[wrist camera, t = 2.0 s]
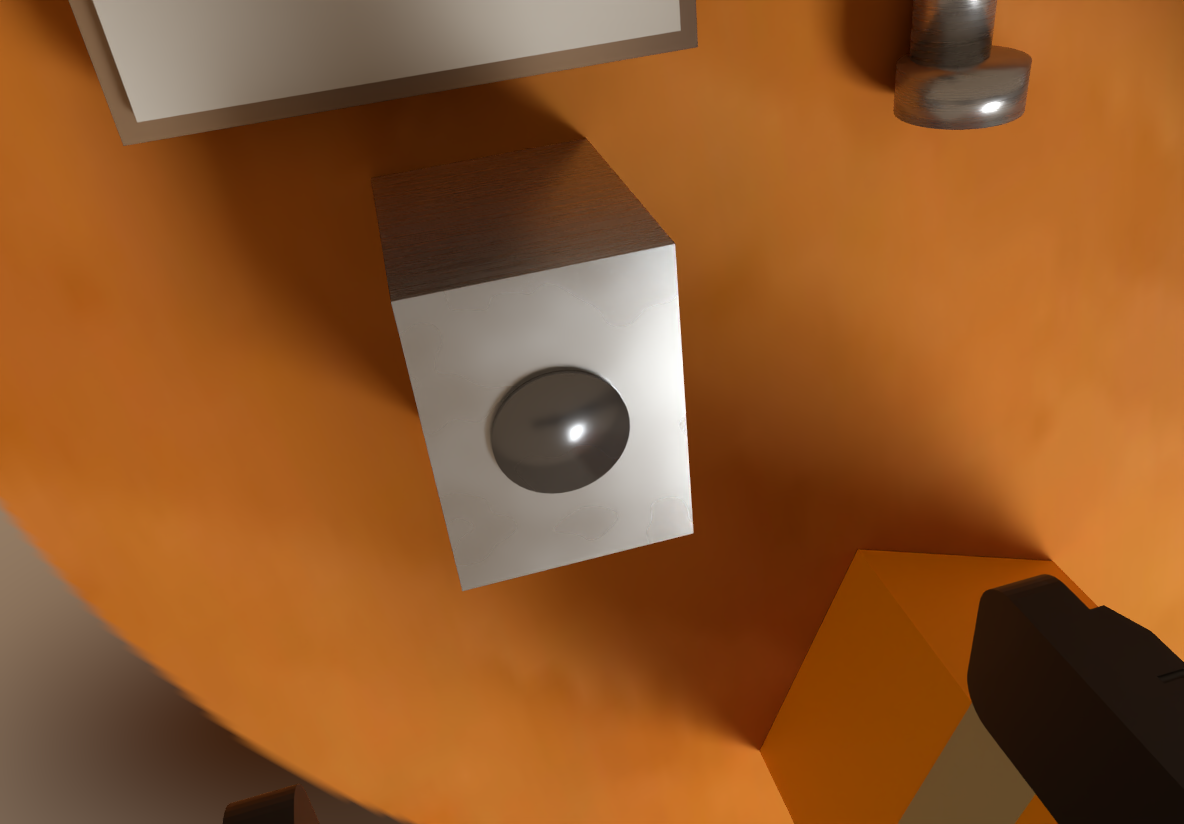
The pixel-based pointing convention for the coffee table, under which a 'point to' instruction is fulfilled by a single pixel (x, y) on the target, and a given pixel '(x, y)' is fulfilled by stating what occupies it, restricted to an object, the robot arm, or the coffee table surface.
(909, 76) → the steel bolt
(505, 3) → the stand
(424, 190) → the block
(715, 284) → the coffee table surface
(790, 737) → the orange juice
